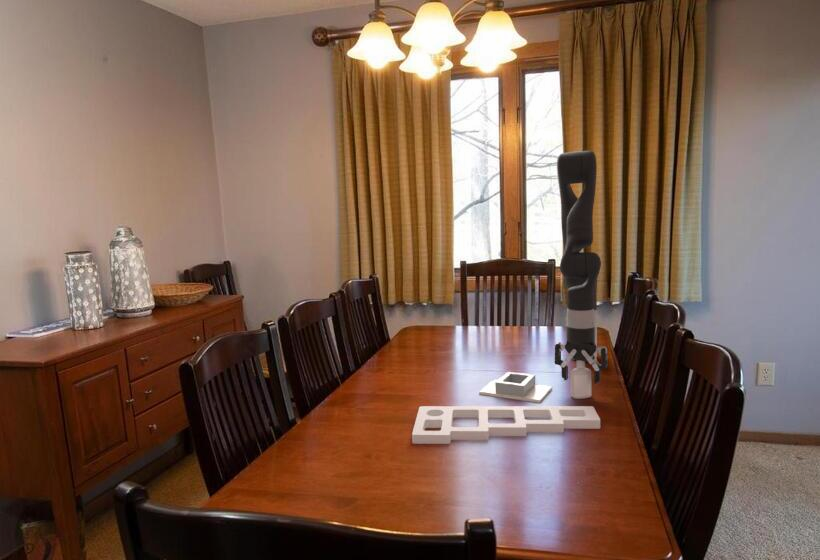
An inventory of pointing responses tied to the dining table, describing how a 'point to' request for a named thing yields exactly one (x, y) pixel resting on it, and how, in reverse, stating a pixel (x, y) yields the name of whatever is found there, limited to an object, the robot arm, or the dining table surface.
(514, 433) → the holder
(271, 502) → the dining table surface
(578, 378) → the eye dropper bottle
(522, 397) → the holder stand
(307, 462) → the dining table surface
